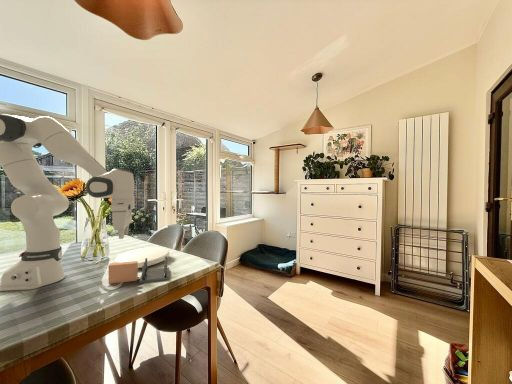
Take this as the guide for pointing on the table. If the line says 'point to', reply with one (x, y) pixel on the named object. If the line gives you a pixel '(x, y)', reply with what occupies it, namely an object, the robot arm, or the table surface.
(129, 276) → the tile
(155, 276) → the rack
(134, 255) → the plate
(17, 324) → the table surface
